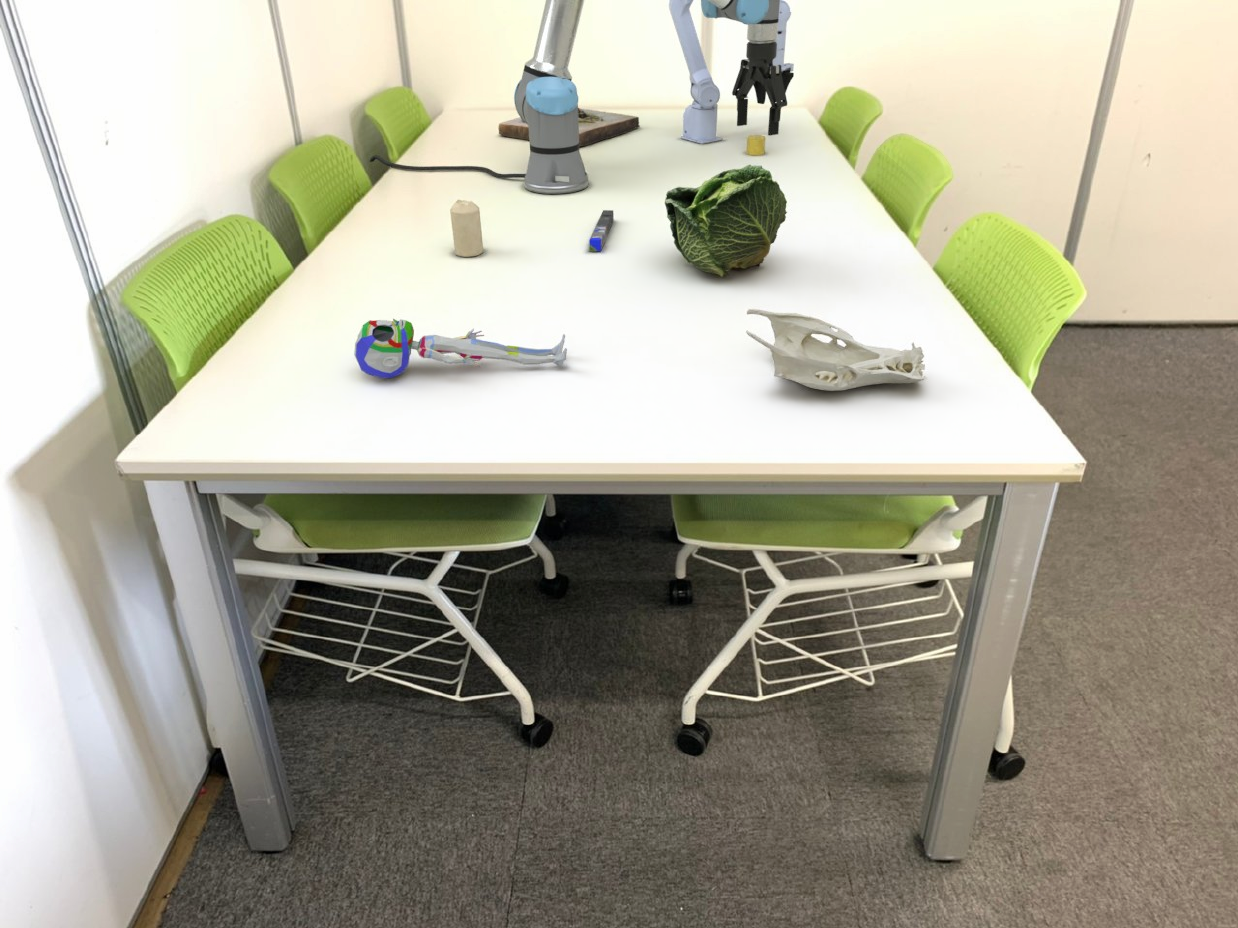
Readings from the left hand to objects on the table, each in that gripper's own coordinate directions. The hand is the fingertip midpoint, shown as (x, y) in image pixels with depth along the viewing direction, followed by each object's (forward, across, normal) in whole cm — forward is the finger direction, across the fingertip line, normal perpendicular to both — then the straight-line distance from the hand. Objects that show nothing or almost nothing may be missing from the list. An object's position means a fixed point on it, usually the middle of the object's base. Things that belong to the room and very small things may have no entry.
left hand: (757, 130), depth 235 cm
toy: (+5, -82, +114) cm, 140 cm away
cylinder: (+6, +1, -1) cm, 6 cm away
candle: (+5, -34, +94) cm, 100 cm away
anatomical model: (+6, -112, +70) cm, 133 cm away
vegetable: (+6, -67, +57) cm, 88 cm away
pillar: (+6, -38, +67) cm, 78 cm away
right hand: (-3, +15, -16) cm, 22 cm away
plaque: (+6, +51, +30) cm, 59 cm away
